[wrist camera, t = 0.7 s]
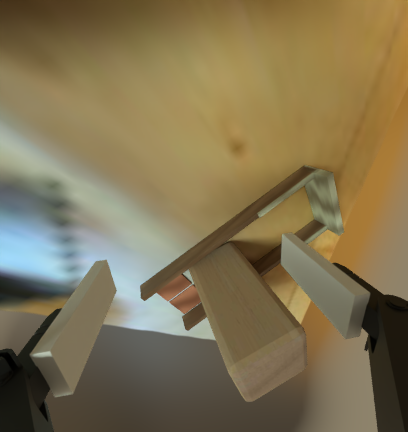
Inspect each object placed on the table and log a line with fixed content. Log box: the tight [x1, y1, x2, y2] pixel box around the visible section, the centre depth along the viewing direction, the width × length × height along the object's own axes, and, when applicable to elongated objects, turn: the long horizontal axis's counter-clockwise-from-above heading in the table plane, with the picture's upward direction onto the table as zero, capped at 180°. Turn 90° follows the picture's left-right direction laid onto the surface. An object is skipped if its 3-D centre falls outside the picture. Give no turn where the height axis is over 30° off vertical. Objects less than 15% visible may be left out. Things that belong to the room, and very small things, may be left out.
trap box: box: [140, 165, 344, 330], centre depth 38 cm, size 15×38×6 cm, turn 122°
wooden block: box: [189, 242, 307, 402], centre depth 32 cm, size 10×10×20 cm
